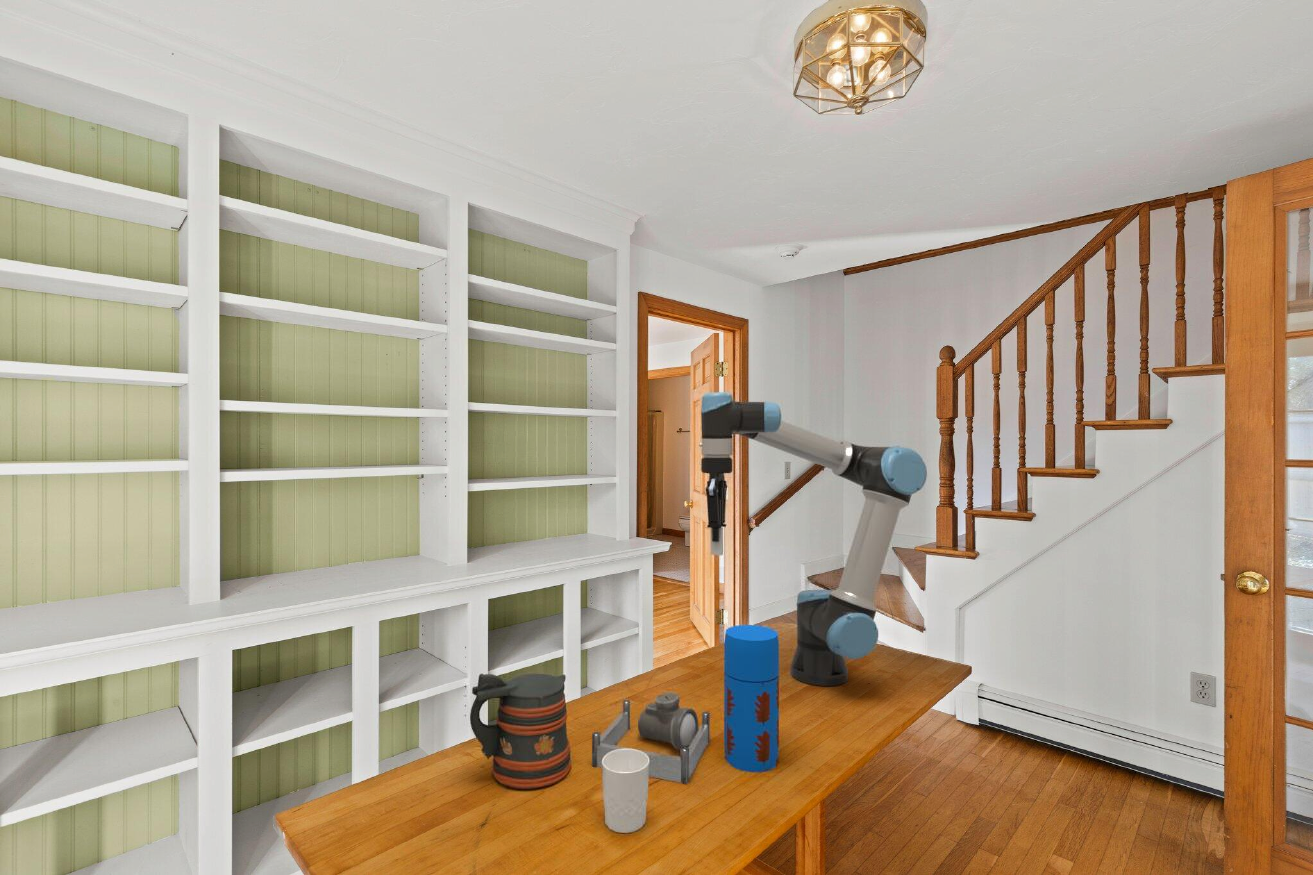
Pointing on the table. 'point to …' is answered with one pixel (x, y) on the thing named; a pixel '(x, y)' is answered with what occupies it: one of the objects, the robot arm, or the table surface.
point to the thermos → (751, 697)
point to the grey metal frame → (658, 763)
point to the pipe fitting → (668, 721)
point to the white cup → (625, 789)
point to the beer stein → (524, 729)
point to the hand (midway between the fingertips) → (716, 554)
